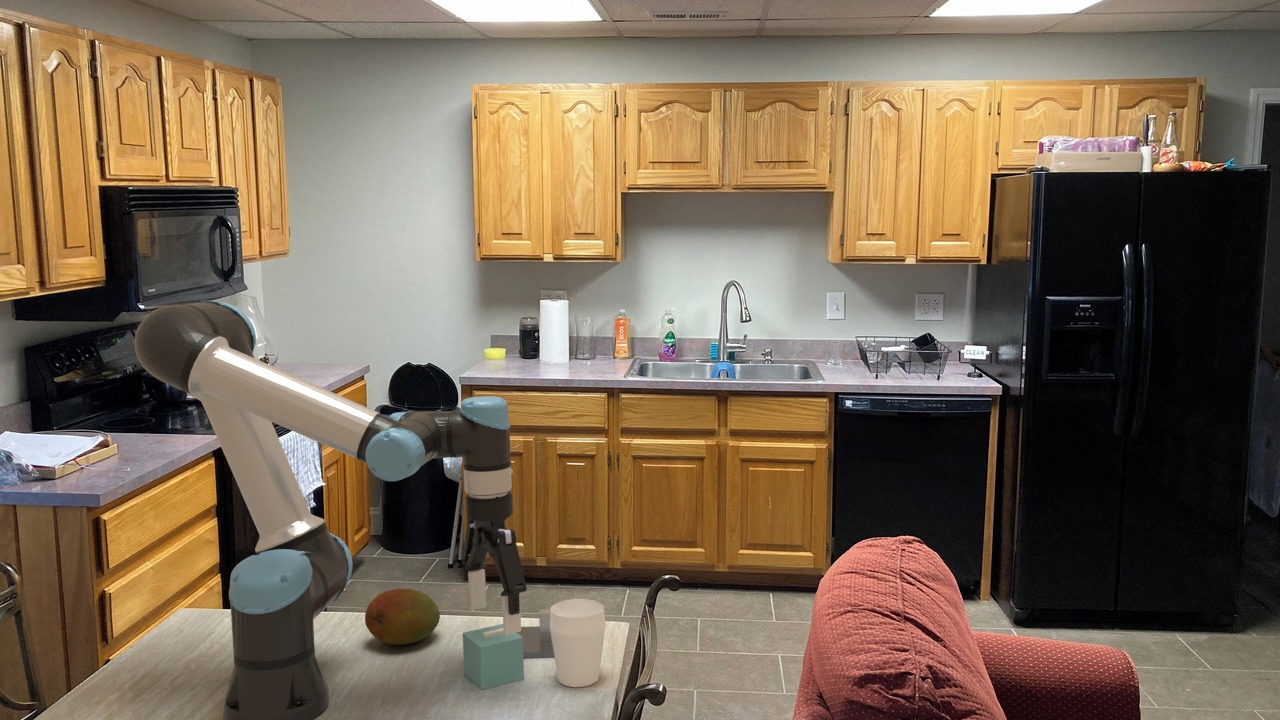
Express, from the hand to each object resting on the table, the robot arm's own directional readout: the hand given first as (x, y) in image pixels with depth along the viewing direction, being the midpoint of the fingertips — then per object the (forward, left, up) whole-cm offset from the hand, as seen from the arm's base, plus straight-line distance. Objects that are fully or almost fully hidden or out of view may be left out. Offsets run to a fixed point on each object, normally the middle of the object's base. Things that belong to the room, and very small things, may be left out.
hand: (494, 620), depth 165 cm
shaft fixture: (+8, +13, -10) cm, 18 cm away
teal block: (0, 0, -10) cm, 10 cm away
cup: (+14, -2, -10) cm, 17 cm away
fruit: (-18, +16, -10) cm, 26 cm away
